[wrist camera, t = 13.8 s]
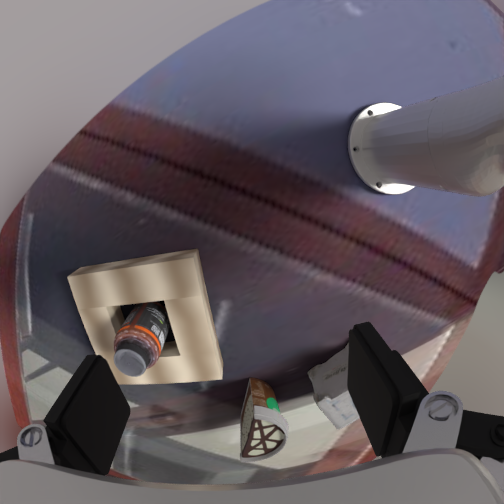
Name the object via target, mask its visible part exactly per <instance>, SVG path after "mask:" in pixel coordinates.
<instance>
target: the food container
mask: <svg viewBox="0 0 504 504" xmlns="http://www.w3.org/2000/svg"><path fill="white" fill-rule="evenodd" d="M240 422H241V453H240V459H241V462H255V461H260V460H264V459H267V458H269V457H272V456H274V455H275V454H277V453H278V452H279V451H281V450H282V448H283V447H284V446H285V444H286V441H287V438H288V431H289V426H288V423H287V421H286V419H285V418H284V417H283V416H282V415H281V414H280V411H279V407H278V404H277V400H276V397H275V393H274V390H273V389H272V387H271V386H270V385H269V384H268V383H266V382H265V381H263V380H260V379H257V378H252V377H250V379H249V383H248V387H247V391H246V395H245V399H244V403H243V407H242V411H241V415H240Z"/></svg>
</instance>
